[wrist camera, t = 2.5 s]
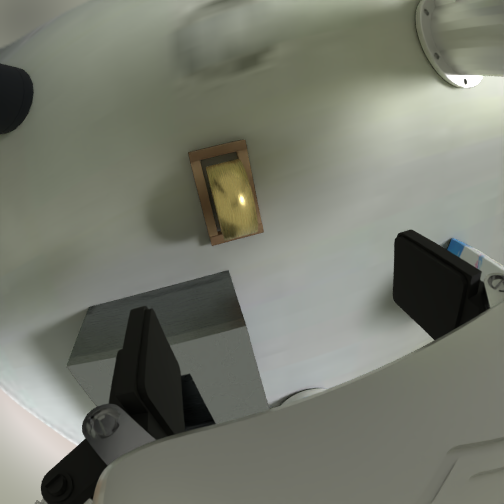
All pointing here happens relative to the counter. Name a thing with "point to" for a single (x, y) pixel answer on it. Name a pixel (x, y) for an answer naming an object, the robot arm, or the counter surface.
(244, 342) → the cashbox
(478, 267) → the ink box
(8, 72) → the black water bottle
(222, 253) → the counter surface
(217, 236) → the cradle
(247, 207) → the coin
